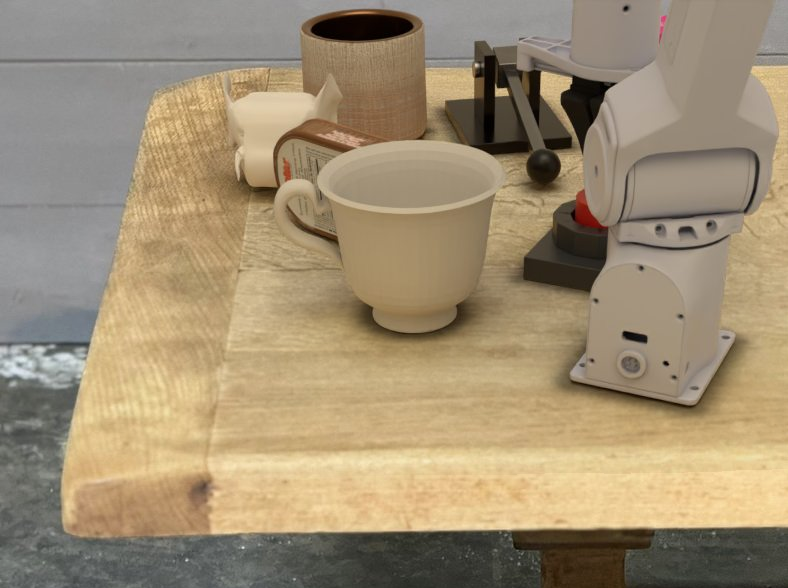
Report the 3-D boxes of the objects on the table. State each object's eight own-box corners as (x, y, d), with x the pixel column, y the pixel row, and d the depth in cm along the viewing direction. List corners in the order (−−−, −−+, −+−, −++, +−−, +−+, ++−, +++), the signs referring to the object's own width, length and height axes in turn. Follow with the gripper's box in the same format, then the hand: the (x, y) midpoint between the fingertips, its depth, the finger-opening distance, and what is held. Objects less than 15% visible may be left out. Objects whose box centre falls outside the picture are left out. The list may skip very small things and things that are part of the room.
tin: (444, 261, 96) (443, 149, 91) (415, 276, 94) (413, 162, 90) (299, 210, 105) (291, 105, 100) (270, 223, 103) (261, 116, 98)
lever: (562, 190, 107) (566, 160, 105) (528, 192, 106) (531, 163, 104) (518, 71, 118) (520, 42, 116) (487, 73, 117) (489, 45, 115)
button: (621, 235, 92) (622, 211, 91) (566, 226, 93) (567, 202, 92) (639, 214, 94) (641, 190, 93) (586, 205, 96) (587, 182, 95)
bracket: (571, 147, 114) (576, 62, 110) (469, 156, 113) (469, 70, 109) (539, 103, 124) (542, 23, 120) (444, 110, 123) (444, 30, 119)
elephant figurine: (208, 210, 105) (195, 99, 100) (244, 156, 115) (234, 52, 110) (326, 213, 104) (319, 101, 99) (352, 158, 114) (347, 54, 109)
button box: (631, 299, 90) (635, 251, 88) (522, 279, 93) (524, 232, 91) (674, 243, 98) (679, 198, 96) (572, 226, 101) (574, 182, 99)
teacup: (284, 282, 94) (272, 145, 88) (492, 271, 95) (494, 134, 89) (282, 364, 84) (268, 217, 79) (514, 352, 85) (518, 204, 79)
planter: (301, 157, 114) (293, 44, 109) (310, 115, 123) (303, 9, 118) (426, 155, 114) (425, 41, 108) (427, 112, 123) (425, 6, 117)
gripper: (751, -11, 83) (726, 196, 91) (562, -41, 91) (554, 151, 99) (691, 14, 79) (671, 228, 87) (499, -20, 87) (496, 179, 95)
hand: (605, 189), depth 92 cm, fingers closed
